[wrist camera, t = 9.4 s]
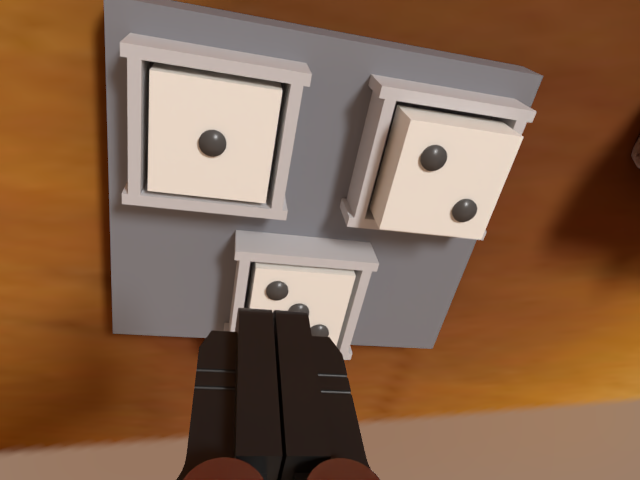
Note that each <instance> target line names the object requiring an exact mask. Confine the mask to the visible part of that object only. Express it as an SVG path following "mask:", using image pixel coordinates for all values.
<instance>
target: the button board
mask: <svg viewBox="0 0 640 480" xmlns="http://www.w3.org/2000/svg"><path fill="white" fill-rule="evenodd" d="M104 26H105V63H106V100H107V137H108V174H109V211H110V248H111V285H112V322H113V334H133V335H154V336H175V337H196V338H206V337H207V336H208V335H209V333H210V332H211V331H212V330H214V331H231V332H235V327H236V319H237V312H238V308H246V303H247V297H248V290H249V283H250V276H251V269H252V262H263V263H275V264H287V265H300V266H312V267H324V268H337V269H349V270H354V272H355V275H356V277H355V281H354V285H353V288H352V292H351V295H350V299H349V303H348V306H347V310H346V314H345V317H344V321H343V324H342V328H341V332H340V335H339V339H338V343H337V346H336V347H337V348H338V349H339V351H340V352H341V353H342V355H343V359H344V360H350V359H351V356H352V350H351V347H350V345H365V346H386V347H407V348H429V349H432V348H433V346H434V343H435V341H436V338H437V336H438V334H439V331H440V329H441V326H442V324H443V321H444V319H445V316H446V314H447V311H448V309H449V306H450V304H451V302H452V299H453V297H454V294H455V292H456V289H457V287H458V284H459V282H460V279H461V277H462V275H463V272H464V270H465V267H466V265H467V262H468V260H469V257H470V255H471V252H472V250H473V247H474V245H475V243H476V240H483V239H484V237H485V235H486V230H485V232H484V234H483V237H482V239H472V238H462V237H453V236H443V235H433V234H423V233H413V232H403V231H393V230H383V229H379V227H378V225H377V223H376V221H375V219H374V217H373V215H372V212H371V210H370V204H371V200H372V197H373V193H374V189H375V185H376V182H377V178H378V174H379V171H380V167H381V163H382V160H383V156H384V152H385V148H386V145H387V141H388V137H389V134H390V130H391V126H392V122H393V119H394V115H395V111H396V108H397V105H401V106H407V107H414V108H420V109H426V110H433V111H439V112H445V113H451V114H458V115H464V116H470V117H477V118H483V119H489V120H495V121H502V122H503V123H505V124H506V125H508V126H509V127H510V128H512V129H513V130H515V131H516V132H517V133H519V134H520V135H522V133H523V130H524V128H525V125H526V123H527V122H531V123H532V121H533V119H534V116H535V114H536V111H535V110H533V109H531V108H530V107H531V105H532V102H533V100H534V97H535V95H536V93H537V90H538V88H539V85H540V83H541V80H542V78H543V76H542V75H540V74H538V73H536V72H533V71H531V70H529V69H527V68H525V67H523V66H518V65H513V64H507V63H502V62H497V61H491V60H486V59H481V58H475V57H470V56H465V55H459V54H454V53H449V52H443V51H438V50H433V49H427V48H422V47H417V46H411V45H406V44H401V43H395V42H390V41H385V40H379V39H374V38H369V37H363V36H358V35H353V34H347V33H342V32H337V31H331V30H326V29H321V28H315V27H310V26H305V25H300V24H294V23H289V22H284V21H278V20H273V19H268V18H262V17H257V16H252V15H246V14H241V13H236V12H230V11H225V10H220V9H214V8H209V7H204V6H198V5H193V4H188V3H182V2H177V1H172V0H104ZM155 62H158V63H164V64H170V65H177V66H183V67H189V68H195V69H201V70H208V71H214V72H220V73H226V74H233V75H239V76H245V77H251V78H257V79H264V80H270V81H276V82H280V83H281V87H282V98H281V104H280V111H279V118H278V124H277V131H276V138H275V144H274V151H273V158H272V164H271V171H270V178H269V184H268V191H267V198H266V203H257V202H247V201H238V200H229V199H219V198H210V197H201V196H191V195H182V194H173V193H163V192H154V191H148V132H149V70H150V69H151V67H152V66H153V64H154V63H155Z"/></svg>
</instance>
